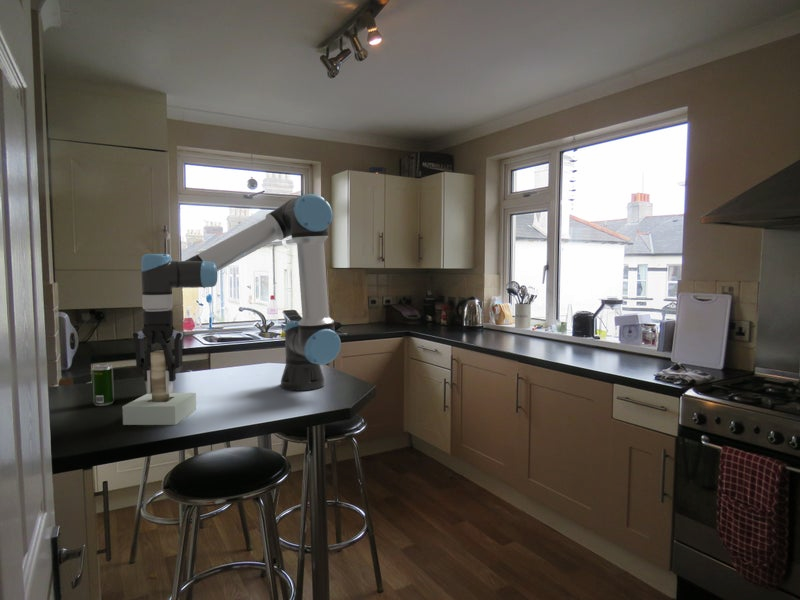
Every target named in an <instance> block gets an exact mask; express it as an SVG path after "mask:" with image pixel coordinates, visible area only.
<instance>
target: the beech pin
mask: <svg viewBox="0 0 800 600" xmlns="http://www.w3.org/2000/svg"><path fill="white" fill-rule="evenodd" d="M150 355H151V386H152V402H167V401H169V394H166V379H165V371H166V370H167V369H168V367H167V363H166V359H165V355H164V351H163V350H161V351H153V352H151V353H150Z"/></svg>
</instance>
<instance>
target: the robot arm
mask: <svg viewBox="0 0 800 600" xmlns="http://www.w3.org/2000/svg"><path fill="white" fill-rule="evenodd" d="M332 220H333V210H332V207H331V205H330V203H329V202H328V200H326V199H325V198H324V197H323V196H321V195H319V194H316V193H312V194H311V193H308V194H302V195H300V196H298V197H293V198H290V199H289V200H287V201H285V203H283V204H281V205H280V206H279V207H277V208H276V209H274V210H272V211H271V212H269V213H267V214H266V215H265V217H264V219H262V220H261V221H258V222H257V223H254V224H252V225H251V226H250V225H249V227H247V228H245V229H243V230H241V231H239V232H237V233H235V234H234V235H231V236H229V237H228V238H226V239H224V240H222V241H220V242H218V243H216V244H214V245H212V246H210V247H208V248H206V249H204V250H202V251H201V252H198V253H196V255H194V256H191V257H190V258H188V259H186V260H181V261H176V260H173V259H172V256H171V254H169V253H145V254H143V255H142V256H141V264H140V265H141V269H140V275H141V295H142V296H141V297H142V301H141V302H142V309H143V311H142V324H143V327H142V330H140V331H137V332H133V333H132V338H133V340H134V346H135V347H134V348H135V366H136V368H137V369H142V370H144V371H143V380H144V382H145V381H147V387H148V394H151V393H152V386H151V355H150V353H151V352H153V351H155V350H156V347H157V345H158V344H160V346H161V348H163V351H164V355H165V359H166V363H167V367H168V369H167V370H166V371H165V379H166V394H170V393H174V387H173V385H174V384H173V383H174V382H175V381H176V379H177V377H176V376H177V375H176V369H179V368H181V367H182V366H183V340H184V336H185V332H183V331H181V332H180V331H178V330H176V329H175V328H174V312H173V310H172V309H173V308H174V307H173V288H174V289H178V288H182V289H183V288H189V289H190V288H204V289H206V288H213V287H215V286H216V285H217V282H218V272H219V271H221V270H222V269H224V268H226V267H228V266H230V265H232V264H234V263H236V262H237V261H239V260H242V258H245V257H247V256H248V255H250V254H252V253H254V252H256V251H257V250H260V249H262V248H263V247H265V246H267V245H269V244H270V243H272V242H274V241H276V240H279V241H283V240H285V239H286V238H288V237H291V240H292V241H294V242H295V244H296V250H297V262H298V263H297V264H298V277H299V290H300V303H301V315H302V316H301V317H302V318H301V319H300V320H299V321H298V320H297V321H296V320H295V321H287V322H286V324H285V325H284V326H285V327H284V336H285V337H284V340H285V341H284V342H285V343H284V346H285V366H284V369H283V373H282V376H281V379H280V387H281V389H284V390H286V389H287V391H295V390H297V391H299V392H300V391H303V392H304V391H312V390H311V389H313V390H318V389H320V387H321V388H322V386H323V387H325V385H324V384H325V383H326V382H325V381H326V380H325V376H324V373H323V370H322V367H321V365H327V364H330V363H331V362H333V361H335V359H336V358H337V357H338V356H339V353H340V351H341V346H342V343H341V342H342V341H341V338H340V336H339V335H338V333H337V332H336V331H335V320H334V319H333V318H331V317H330V313H329V312H330V310H329V298H328V286H327V285H328V284H327V283H328V281H327V280H328V279H327V270H326V255H325V254H326V253H325V252H326V251H325V242H326V240H327V239H328V238H329V226H330V224H331V223H332ZM172 336H173V339H174V343H173V348H174V349H173V350H174V352H173V350H172V342H171V338H172ZM144 338H146V339H147V342H146V350H145V340H144ZM145 353H146V355H145ZM317 388H318V389H317ZM297 391H296V392H297Z"/></svg>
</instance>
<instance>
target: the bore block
mask: <svg viewBox="0 0 800 600" xmlns="http://www.w3.org/2000/svg"><path fill="white" fill-rule="evenodd" d="M121 407H122V425H123V426H127V425H128V426H131V425H132V426H133V425H134V426H135V425H136V426H141V425H142V426H155V425H156V426H163V425H164V426H170V425H171V426H176V425H178V423H180V422H181V421H183V420H184V419H186V418H187V417H188V416H190V415H191V414H192V413H193V412H195V411H197V392H171V393H170V394H169V401H167V402H152V393H151V394H148V393H147V392H146V394H144V395H142V396H140V397H138V398H136V399H135V400H132V401H130V402H128V403H126V404H124V405H123V406H121Z"/></svg>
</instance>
